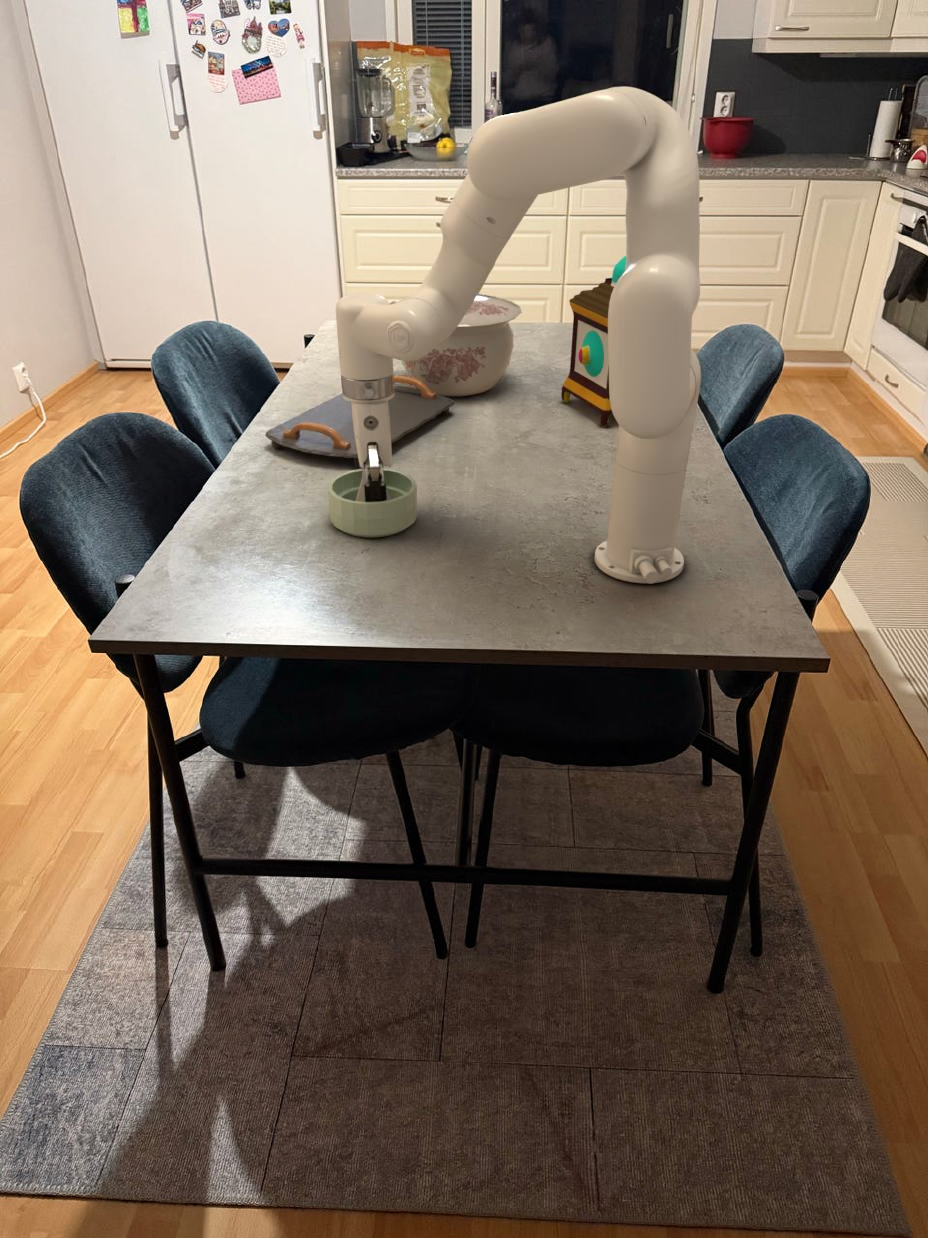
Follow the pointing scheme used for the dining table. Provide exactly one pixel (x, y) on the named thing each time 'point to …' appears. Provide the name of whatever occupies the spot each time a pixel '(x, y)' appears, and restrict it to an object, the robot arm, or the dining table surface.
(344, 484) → the basin
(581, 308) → the decorative lantern
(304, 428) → the serving tray
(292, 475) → the dining table surface
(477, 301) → the chamber pot
